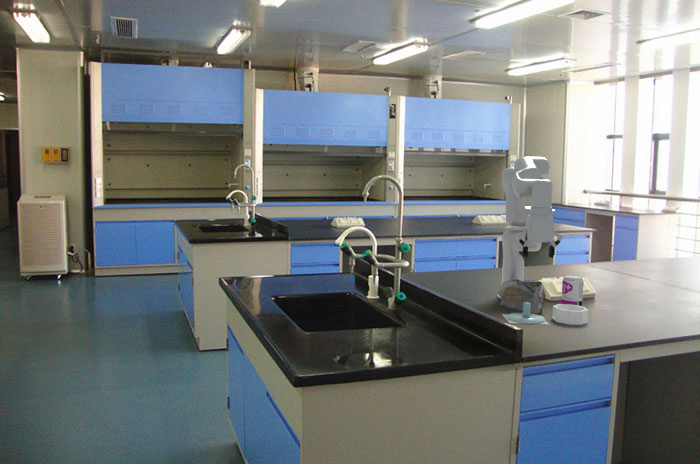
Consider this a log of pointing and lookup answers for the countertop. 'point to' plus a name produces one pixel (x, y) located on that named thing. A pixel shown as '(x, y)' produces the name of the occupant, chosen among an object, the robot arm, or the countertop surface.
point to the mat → (518, 322)
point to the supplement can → (572, 290)
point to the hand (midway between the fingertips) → (538, 257)
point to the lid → (526, 316)
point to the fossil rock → (522, 295)
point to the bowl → (570, 314)
